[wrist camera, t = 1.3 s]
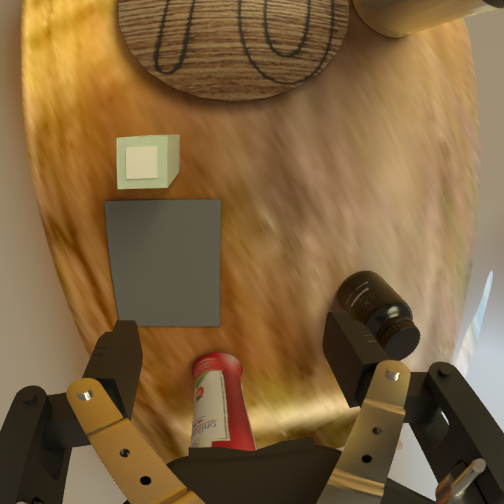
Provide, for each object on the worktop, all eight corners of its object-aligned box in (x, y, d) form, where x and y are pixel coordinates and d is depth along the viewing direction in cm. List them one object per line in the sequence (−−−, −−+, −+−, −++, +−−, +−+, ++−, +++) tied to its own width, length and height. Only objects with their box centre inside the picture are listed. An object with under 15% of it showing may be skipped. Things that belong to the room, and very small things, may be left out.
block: (142, 135, 31) (116, 138, 21) (179, 134, 31) (167, 135, 22) (142, 172, 32) (117, 189, 23) (179, 171, 33) (167, 188, 23)
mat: (105, 200, 33) (104, 201, 32) (220, 199, 34) (221, 199, 34) (120, 323, 38) (120, 325, 38) (220, 324, 40) (220, 326, 40)
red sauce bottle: (221, 390, 45) (241, 568, 19) (180, 368, 42) (176, 562, 16) (253, 361, 43) (297, 552, 17) (212, 336, 41) (229, 549, 15)
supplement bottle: (341, 269, 40) (385, 319, 28) (386, 268, 40) (436, 314, 29) (332, 315, 42) (368, 373, 31) (375, 312, 43) (417, 364, 32)
